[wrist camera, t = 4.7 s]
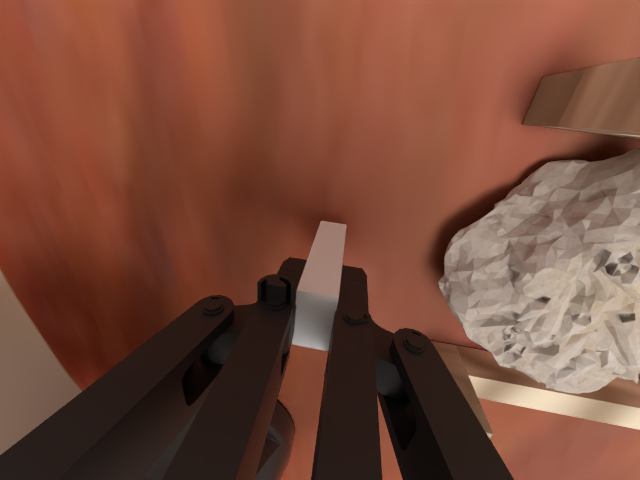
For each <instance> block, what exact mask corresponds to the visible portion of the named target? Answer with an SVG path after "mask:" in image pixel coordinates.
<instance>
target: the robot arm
mask: <svg viewBox="0 0 640 480" xmlns="http://www.w3.org/2000/svg"><path fill="white" fill-rule="evenodd" d="M346 226H347V225H346V224H340V223H333V222H327V221H321V222H320V225H319V228H318V231H317V233H316V236H315V239H314V242H313V245H312V248H311V251H310V253H309V256H308V259H307V260H303V259H297V258H291V257H290V258H288V259H287V260H285V261H284V262H283V263H282V265H281V267H280V270H279V271H278V273H277V275H276V274H273V275H268V276H265V277H263V278H261V279H260V280H259V281H258V301H257V303H254V304H250V305H239V306H234V304H233V302H232V300H231V299H229V298H228V297H225V296H221V295H216V296H209V297H206V298H204V299H202V300H200V301H198V302H197V303H196V304H194V305H193V306H192V307H191V308H189V309H188V310H187V311H185V312H184V313H183V314H182V315H180V316H179V317H178V318H176V319H175V320H174V321H173V322H171V323H170V324H169V325H167V326H166V327H165V328H164V329H162V330H161V331H160V332H158V333H157V334H156V335H155V336H153V337H152V338H151V339H149V340H148V341H147V342H146V343H144V344H143V345H142V346H140V347H139V348H138V349H137V350H135V351H134V352H133V353H131V354H130V355H129V356H128V357H126V358H125V359H124V360H122V361H121V362H120V363H119V364H117V365H116V366H115V367H113V368H112V369H111V370H110V371H108V372H107V373H106V374H104V375H103V376H102V377H101V378H99V379H98V380H97V381H95V382H94V383H93V384H92V385H90V386H89V387H88V388H86V389H85V390H84V391H83V392H81V393H80V394H79V395H77V396H76V397H75V398H74V399H72V400H71V401H70V402H68V403H67V404H66V405H65V406H63V407H62V408H61V409H59V410H58V411H57V412H56V413H54V414H53V415H52V416H50V418H48V419H47V420H45V421H44V422H43V423H42V424H40V425H39V426H38V427H36V428H35V429H34V430H32V431H31V432H30V433H29V434H27V435H26V436H25V437H23V438H22V439H21V440H20V441H18V442H17V443H16V444H14V445H13V446H12V447H11V448H9V449H8V450H7V451H5V452H4V453H3V454H2V455H0V480H280V479H281V477H282V475H283V473H284V471H285V469H286V467H287V465H288V462H289V459H290V455H291V450H292V445H293V440H294V435H295V429H294V424H293V422H292V419H291V417H290V416H289V414H288V413H287V411H286V410H285V409H284V408H283V407H282V406H281V405H280V404H279V403H278V402H277V398H278V394H279V391H280V387H281V384H282V380H283V377H284V373H285V370H286V366H287V362H288V359H289V353H290V345H291V342H292V344H293V345H298V346H303V347H308V348H314V349H319V350H324V351H328V358H327V363H326V369H325V374H324V377H325V378H324V386H323V393H322V401H321V408H320V416H319V424H318V431H317V439H316V446H315V454H314V461H313V469H312V476H311V480H382V468H381V452H380V436H379V419H378V403H377V395H378V398H379V402H380V405H381V408H382V412H383V415H384V418H385V422H386V425H387V428H388V432H389V435H390V438H391V442H392V445H393V448H394V452H395V455H396V458H397V462H398V465H399V469H400V472H401V475H402V479H403V480H514V479H513V477H512V476H511V474H510V472H509V471H508V469H507V467H506V466H505V464H504V462H503V461H502V459H501V457H500V455H499V454H498V452H497V450H496V449H495V447H494V445H493V444H492V442H491V440H490V439H489V437H488V435H487V434H486V432H485V430H484V429H483V427H482V425H481V424H480V422H479V420H478V419H477V417H476V415H475V413H474V412H473V410H472V408H471V407H470V405H469V403H468V402H467V400H466V398H465V397H464V395H463V393H462V392H461V390H460V388H459V387H458V385H457V383H456V382H455V380H454V378H453V377H452V375H451V373H450V371H449V370H448V368H447V366H446V365H445V363H444V361H443V360H442V358H441V356H440V355H439V353H438V351H437V350H436V348H435V346H434V345H433V343H432V342H431V341H430V339H429V338H428V337H426V336H425V335H424V334H422V333H421V332H419V331H416V330H414V329H408V328H404V329H399V330H398V331H397V332H395V334H394V333H392V332H389V331H387V330H385V329H383V328H381V327H379V326H378V325H377V324H375V323H374V322H373V320H372V318H371V315H370V314H369V312H368V292H367V275H366V274H365V272H364V271H363V269H362V268H356V267H350V266H344V265H342V263H343V254H344V244H345V235H346Z"/></svg>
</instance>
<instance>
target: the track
mask: <svg viewBox="0 0 640 480" xmlns="http://www.w3.org/2000/svg"><path fill="white" fill-rule="evenodd" d="M523 125H531V126H539V127H547V128H556V129H564V130H572V131H580V132H588V133H596V134H604V135H612V136H620V137H628V138H636V139H640V57H638V58H633V59H628V60H623V61H618V62H613V63H608V64H603V65H598V66H593V67H588V68H583V69H578V70H573V71H568V72H563V73H558V74H553V75H548V76H543V77H542V80H541V82H540V84H539V87H538V89H537V91H536V94H535V96H534V98H533V100H532V103H531V105H530V107H529V110H528V112H527V114H526V117H525V119H524V121H523ZM431 342H432V343H433V345H434V346H435V348H436V350H437V351H438V353H439V355H440V356H441V358H442V360H443V361H444V363H445V365H446V366H447V368H448V370H449V371H450V373H451V375H452V377H453V378H454V380H455V382H456V383H457V385H458V387H459V388H460V390H461V392H462V393H463V395H464V397H465V398H466V400H467V402H468V403H469V405H470V407H471V408H472V410H473V412H474V413H475V415H476V417H477V419H478V420H479V422H480V424H481V425H482V427H483V429H484V430H485V432H486V434H487V435H488V437H489V439H490V437H491V436H492V435H493V433H492V430H491V428H490V426H489V423H488V421H487V418H486V416H485V414H484V411H483V409H482V407H481V404H480V402H479V399H478V398H482V399H487V400H492V401H497V402H502V403H507V404H512V405H517V406H522V407H527V408H532V409H537V410H542V411H548V412H553V413H558V414H563V415H568V416H573V417H578V418H583V419H588V420H593V421H598V422H603V423H609V424H614V425H619V426H624V427H629V428H634V429H639V430H640V379H639V380H638V383H637V384H636V383H635V382H634V381H633V380H626V379H622V378H618V377H617V378H615V379H613V380H612V381H611V382H610V383H608V384H607V385H606V386H604V387H602V388H601V389H599V390H597V391H593V392H590V393H579V394H577V393H567V392H562V391H556V390H554V389H552V388H546V387H545V386H544V384H543V383H542V382H539V383H538V382H537V381H535V380H534V379H533V378H531V377H529V376H528V375H526V374H525V373H523V372H521V371H519V370H516V369H514V368H507V367H502V366H500V365H499V364H498V362H497V361H496V360H495V358H494V356H493V354H492V353H491V352H490V351H485V350H479V349H474V348H468V347H463V346H458V345H452V344H447V343H441V342H436V341H431Z"/></svg>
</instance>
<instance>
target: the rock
mask: <svg viewBox="0 0 640 480" xmlns="http://www.w3.org/2000/svg"><path fill="white" fill-rule="evenodd" d="M444 264H445V273H444V276H443V277H442V278H441V279H440V280H439V281H438V284H439V287H440V289H441V291H442V293H443V295H444V298H445V300H446V302H447V304H448V305H449V308H450V310H451V312H452V313H453V315H454V316H455V318H456V319H457V320H458V322H459V323H460V324H461V326H462V327H463V329H464V331H465V333H466V335H467V337H468V338H470V339H471V340H472V341H474V342H476V343H477V344H479V345H481V346H482V347H484V348H485V349H487V350H488V351H490V352H491V353H492V354H493V356H494V358H495V360H496V361H497V362H498V364H499V365H500V366H502V367H507V368H514V369H516V370H519V371H521V372H523V373H525V374H526V375H528V376H529V377H531V378H533V379H534V380H535V381H537V382H538V383H539V382H542V383H543V384H544V386H545V387H546V388H552V389H554V390H556V391H562V392H567V393H577V394H579V393H590V392H593V391H597V390H599V389H601V388H602V387H604V386H606V385H607V384H608V383H610V382H611V381H612V380H613V379H615V378H617V377H618V378H622V379H626V380H633V381H634V382H635V383H636V384H637V383H638V380H639V373H640V149H639V148H636V149H632V150H630V151H628V152H627V153H625V154H623V155H621V156H616V157H613V158H609V159H606V160H601V161H593V162H588V161H585V160H563V161H553V162H547V163H546V164H545V165H543V166H542V167H540V168H539V169H537V170H536V171H535V172H533V173H532V174H530V175H529V176H528V177H527V178H526V179H525V180H524V181H523V182H522V183H521V184H520V185H518V186H516V187H515V188H514V189H513V190H512V191H510V192H509V193H508V194H507V196H506V198H505V199H503V200H501V201H500V202H498V203H496V204H495V205H494V210H492V211H491V212H490V213H488V214H487V215H486V216H484V217H483V218H481V219H480V220H478V221H476V222H474V223H473V224H471V225H469V226H468V227H465V228H463V229H460V230H459V231H458V232H457V233H456V234H455V235H454V237H453V238H452V240H451V241H450V243H449V244H448V247H447V250H446V253H445V256H444Z"/></svg>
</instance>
